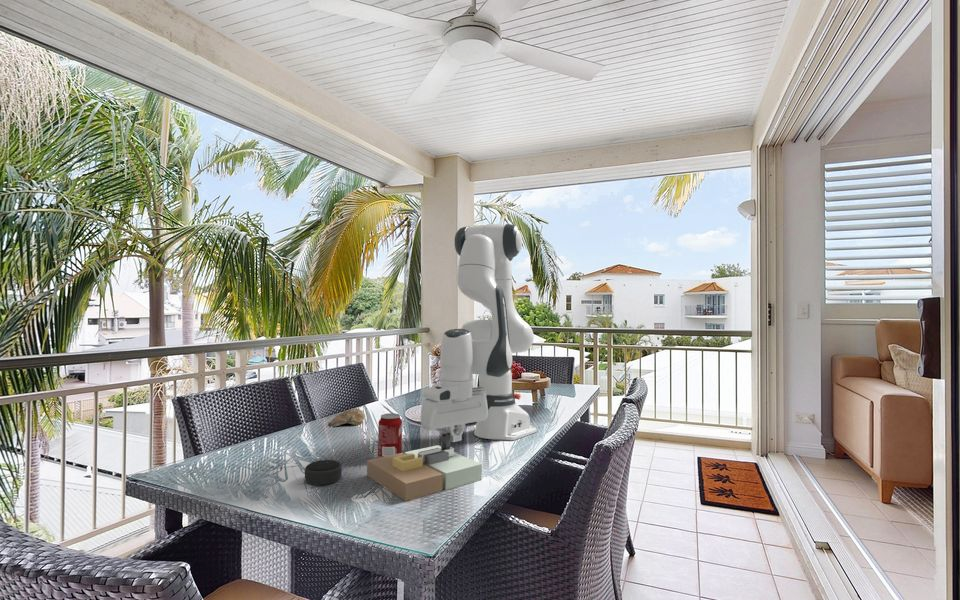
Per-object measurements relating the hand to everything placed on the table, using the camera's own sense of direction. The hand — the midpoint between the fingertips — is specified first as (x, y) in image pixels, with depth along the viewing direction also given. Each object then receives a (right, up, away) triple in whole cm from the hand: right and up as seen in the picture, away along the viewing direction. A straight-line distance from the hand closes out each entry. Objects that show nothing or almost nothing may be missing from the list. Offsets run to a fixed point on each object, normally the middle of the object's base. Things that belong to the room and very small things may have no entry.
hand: (455, 441), depth 131 cm
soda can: (-20, -8, +10) cm, 23 cm away
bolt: (-5, -3, -4) cm, 7 cm away
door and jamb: (-9, -8, -7) cm, 13 cm away
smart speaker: (-33, -8, -8) cm, 35 cm away
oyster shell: (-42, -8, +47) cm, 64 cm away
